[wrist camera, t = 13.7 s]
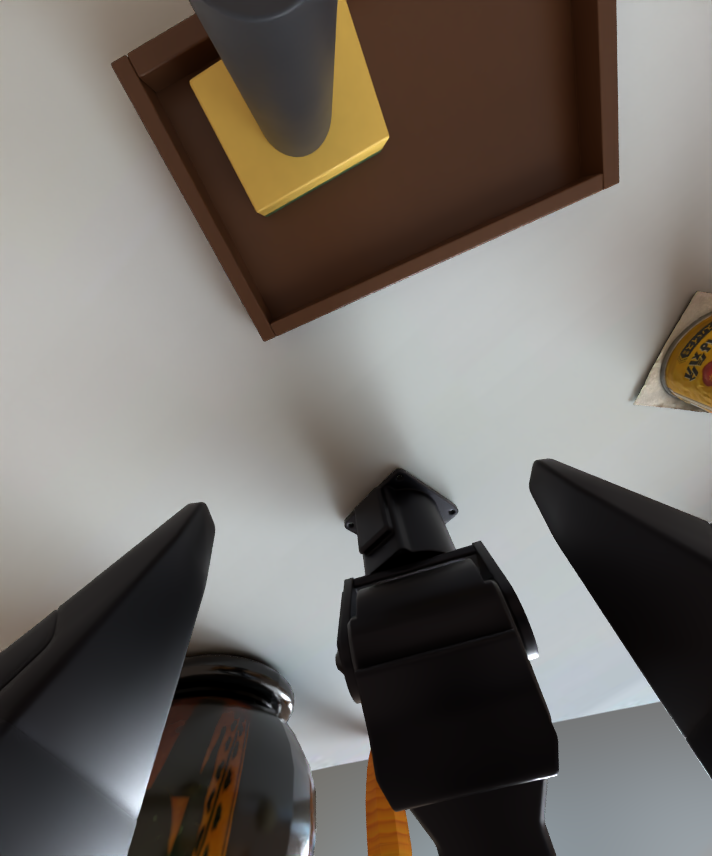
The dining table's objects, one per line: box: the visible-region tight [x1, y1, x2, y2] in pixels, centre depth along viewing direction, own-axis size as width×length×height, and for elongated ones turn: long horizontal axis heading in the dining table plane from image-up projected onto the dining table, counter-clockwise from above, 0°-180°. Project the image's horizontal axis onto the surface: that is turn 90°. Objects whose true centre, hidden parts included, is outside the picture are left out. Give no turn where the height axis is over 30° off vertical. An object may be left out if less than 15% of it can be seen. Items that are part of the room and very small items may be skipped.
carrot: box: [366, 751, 412, 856], centre depth 38 cm, size 5×5×15 cm
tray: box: [111, 0, 619, 342], centre depth 15 cm, size 18×11×2 cm, turn 112°
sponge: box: [189, 0, 389, 217], centre depth 10 cm, size 6×4×12 cm
